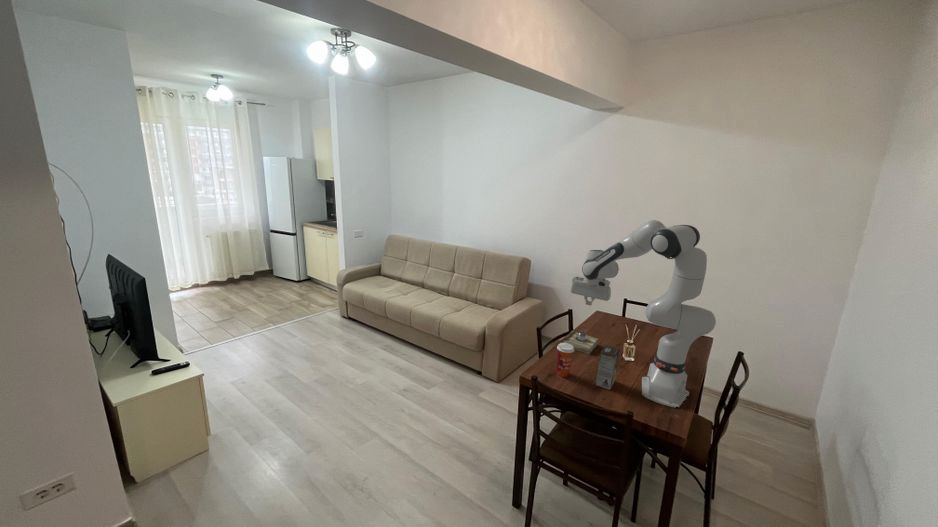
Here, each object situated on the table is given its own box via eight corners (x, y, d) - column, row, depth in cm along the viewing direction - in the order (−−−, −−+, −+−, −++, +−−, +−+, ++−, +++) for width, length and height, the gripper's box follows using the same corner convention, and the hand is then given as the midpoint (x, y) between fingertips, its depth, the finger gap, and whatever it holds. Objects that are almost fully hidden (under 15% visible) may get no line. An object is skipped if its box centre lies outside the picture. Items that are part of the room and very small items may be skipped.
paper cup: (559, 379, 166) (562, 350, 163) (550, 370, 173) (554, 342, 170) (574, 377, 168) (578, 349, 165) (565, 368, 175) (569, 341, 172)
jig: (589, 354, 190) (590, 346, 189) (563, 346, 198) (564, 338, 197) (597, 344, 201) (598, 337, 200) (572, 337, 209) (573, 329, 208)
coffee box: (600, 376, 170) (605, 344, 166) (615, 380, 167) (620, 348, 163) (595, 385, 163) (600, 352, 159) (610, 390, 160) (616, 356, 156)
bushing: (582, 347, 197) (584, 335, 195) (575, 345, 199) (577, 333, 198) (585, 345, 200) (587, 333, 199) (578, 342, 203) (579, 331, 201)
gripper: (570, 276, 198) (567, 301, 201) (610, 284, 187) (606, 310, 190) (574, 274, 203) (571, 299, 206) (613, 282, 192) (609, 307, 195)
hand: (588, 304), depth 198 cm, fingers closed
